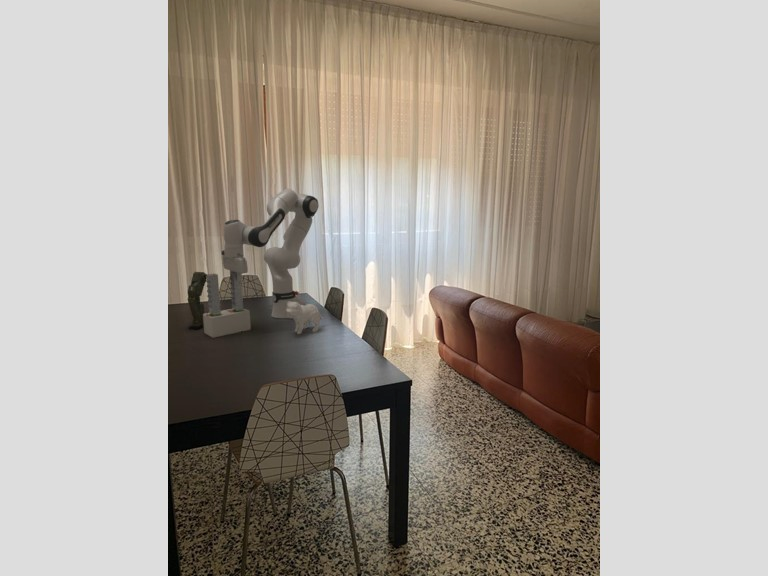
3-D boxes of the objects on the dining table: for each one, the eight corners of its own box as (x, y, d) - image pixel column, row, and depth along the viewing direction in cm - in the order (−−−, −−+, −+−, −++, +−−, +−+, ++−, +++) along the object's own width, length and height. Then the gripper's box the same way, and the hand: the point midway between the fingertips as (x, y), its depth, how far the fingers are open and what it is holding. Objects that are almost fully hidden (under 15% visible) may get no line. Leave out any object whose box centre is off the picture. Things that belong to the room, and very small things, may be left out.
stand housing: (241, 325, 236) (240, 306, 234) (250, 329, 229) (249, 309, 227) (204, 333, 223) (202, 312, 220) (212, 337, 215) (211, 316, 213)
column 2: (239, 312, 231) (237, 271, 226) (243, 314, 228) (241, 272, 223) (231, 314, 228) (228, 272, 223) (235, 315, 225) (232, 273, 220)
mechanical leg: (194, 330, 223) (198, 271, 224) (182, 329, 225) (186, 270, 226) (210, 329, 237) (214, 273, 238) (198, 328, 238) (202, 272, 239)
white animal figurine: (316, 323, 241) (315, 293, 237) (330, 327, 234) (329, 296, 231) (279, 334, 222) (278, 302, 218) (293, 338, 215) (292, 305, 212)
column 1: (217, 316, 223) (214, 273, 218) (220, 318, 220) (217, 274, 215) (208, 318, 220) (205, 274, 215) (212, 319, 217) (208, 275, 212)
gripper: (250, 254, 216) (251, 282, 219) (231, 250, 231) (233, 276, 234) (237, 255, 212) (239, 283, 215) (219, 251, 226) (221, 277, 229)
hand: (236, 279), depth 224 cm, fingers closed on column 2, 4 cm apart
